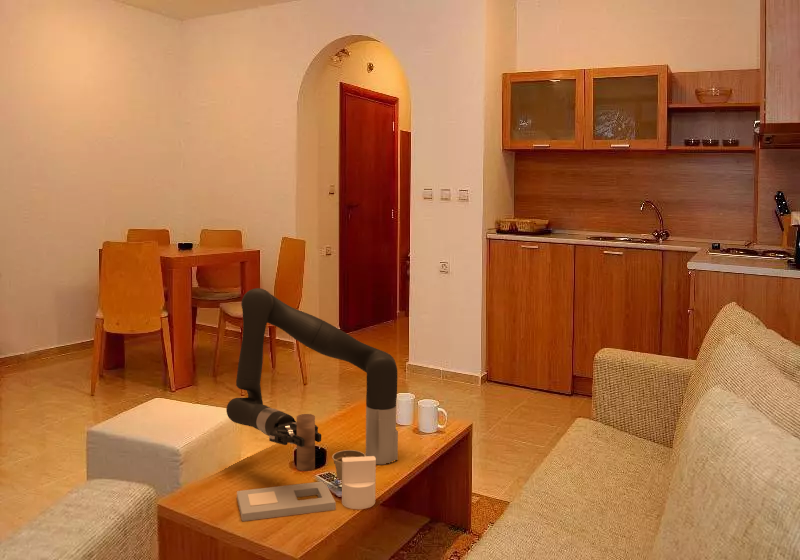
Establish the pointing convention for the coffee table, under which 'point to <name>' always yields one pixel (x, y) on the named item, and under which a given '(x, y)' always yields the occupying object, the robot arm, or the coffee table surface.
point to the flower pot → (343, 454)
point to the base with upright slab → (358, 482)
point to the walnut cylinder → (306, 442)
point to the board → (284, 501)
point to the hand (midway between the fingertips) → (311, 440)
